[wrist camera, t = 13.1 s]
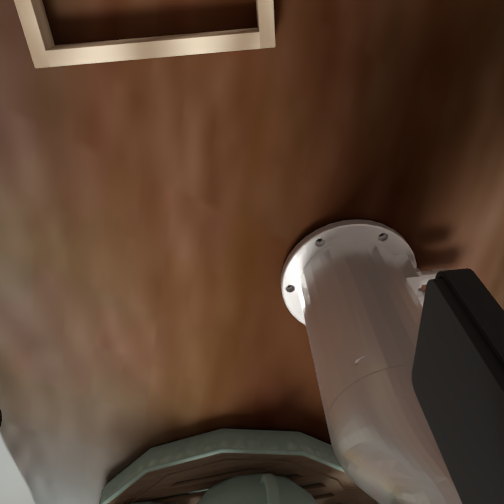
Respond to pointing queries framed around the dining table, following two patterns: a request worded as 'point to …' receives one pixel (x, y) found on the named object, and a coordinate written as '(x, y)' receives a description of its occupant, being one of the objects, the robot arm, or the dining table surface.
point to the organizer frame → (138, 40)
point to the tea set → (237, 472)
